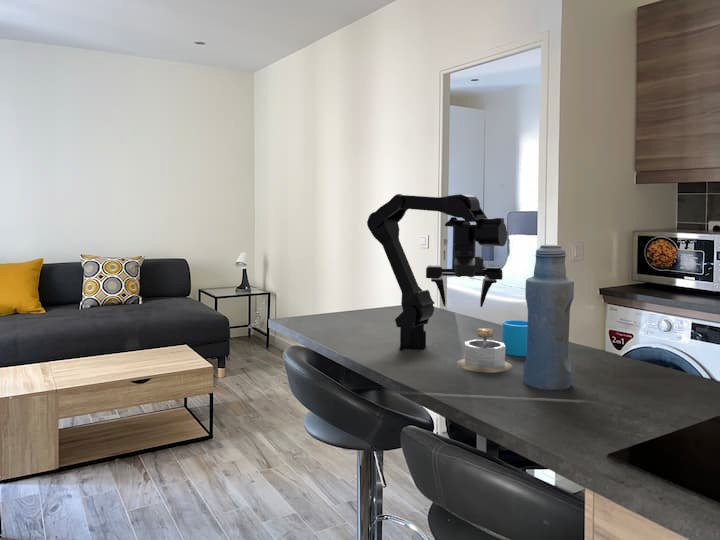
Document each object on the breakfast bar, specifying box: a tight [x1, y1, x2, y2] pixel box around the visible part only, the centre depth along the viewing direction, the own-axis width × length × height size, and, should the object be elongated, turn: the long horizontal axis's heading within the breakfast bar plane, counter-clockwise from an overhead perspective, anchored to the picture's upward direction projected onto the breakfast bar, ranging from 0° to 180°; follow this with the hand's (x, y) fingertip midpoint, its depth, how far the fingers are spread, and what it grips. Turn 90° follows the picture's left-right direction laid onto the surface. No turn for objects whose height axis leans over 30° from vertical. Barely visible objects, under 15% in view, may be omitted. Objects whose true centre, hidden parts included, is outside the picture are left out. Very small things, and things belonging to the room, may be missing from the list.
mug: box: [501, 319, 528, 357], centre depth 149 cm, size 12×8×8 cm
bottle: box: [522, 244, 575, 391], centre depth 119 cm, size 10×10×30 cm
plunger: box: [477, 327, 494, 348], centre depth 134 cm, size 6×6×7 cm
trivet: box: [456, 358, 513, 373], centre depth 134 cm, size 13×13×1 cm
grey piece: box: [463, 338, 506, 370], centre depth 136 cm, size 9×12×5 cm
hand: (462, 306), depth 143 cm, fingers open, 9 cm apart
